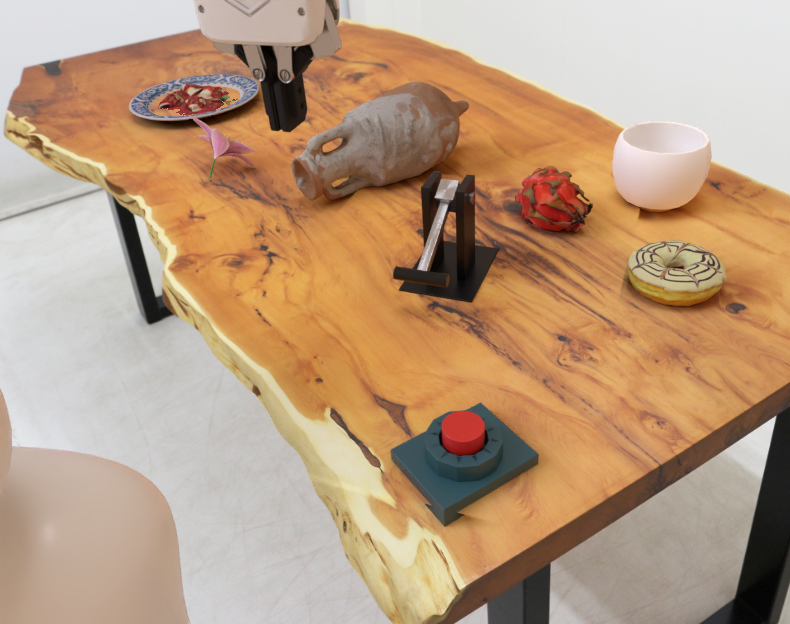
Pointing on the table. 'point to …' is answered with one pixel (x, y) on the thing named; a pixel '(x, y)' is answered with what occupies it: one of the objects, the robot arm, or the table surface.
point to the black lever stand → (454, 245)
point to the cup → (660, 164)
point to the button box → (462, 465)
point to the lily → (223, 144)
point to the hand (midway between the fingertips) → (289, 125)
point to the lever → (433, 240)
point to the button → (463, 433)
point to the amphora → (382, 142)
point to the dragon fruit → (552, 200)
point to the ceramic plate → (194, 96)
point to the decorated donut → (675, 273)
